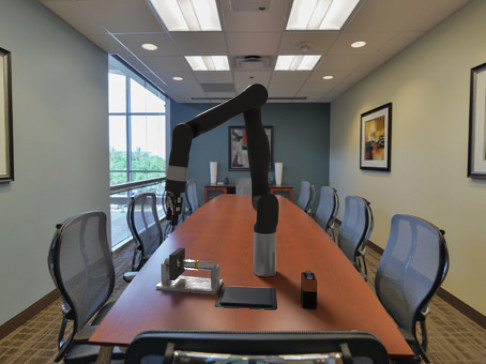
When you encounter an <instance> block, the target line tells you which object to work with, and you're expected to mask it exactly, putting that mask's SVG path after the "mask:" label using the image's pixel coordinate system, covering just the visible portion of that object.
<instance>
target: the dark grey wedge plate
mask: <svg viewBox="0 0 486 364" xmlns="http://www.w3.org/2000/svg"><path fill="white" fill-rule="evenodd" d="M168 258H169V280H174V281H175V280H176V279H177V278H178V277H179V276H182V274H184V273H185V272H186V269H184V268H177V259H186V247H178V248H177V249H176V250H175V251H172V253H170V254H169V256H168Z"/></svg>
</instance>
